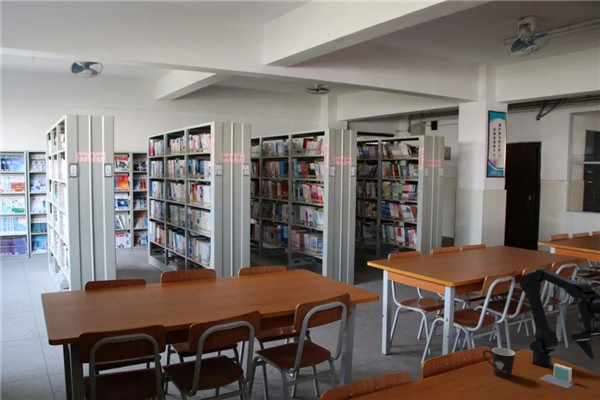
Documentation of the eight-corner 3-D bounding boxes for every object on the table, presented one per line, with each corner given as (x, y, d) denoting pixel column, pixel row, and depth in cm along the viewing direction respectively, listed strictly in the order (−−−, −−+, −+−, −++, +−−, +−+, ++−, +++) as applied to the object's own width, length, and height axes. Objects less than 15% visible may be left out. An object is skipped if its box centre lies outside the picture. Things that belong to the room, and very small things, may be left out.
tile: (553, 378, 190) (553, 364, 190) (554, 376, 191) (555, 363, 191) (569, 383, 185) (570, 369, 185) (571, 381, 187) (571, 368, 186)
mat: (539, 380, 189) (539, 379, 189) (547, 374, 194) (547, 373, 194) (567, 389, 181) (567, 388, 181) (575, 383, 186) (575, 382, 186)
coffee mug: (518, 378, 190) (519, 354, 189) (502, 381, 187) (503, 356, 186) (496, 367, 201) (497, 344, 200) (480, 370, 197) (481, 346, 197)
